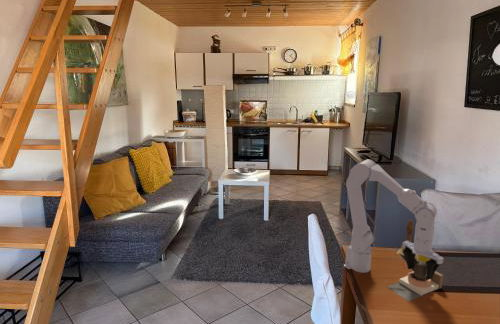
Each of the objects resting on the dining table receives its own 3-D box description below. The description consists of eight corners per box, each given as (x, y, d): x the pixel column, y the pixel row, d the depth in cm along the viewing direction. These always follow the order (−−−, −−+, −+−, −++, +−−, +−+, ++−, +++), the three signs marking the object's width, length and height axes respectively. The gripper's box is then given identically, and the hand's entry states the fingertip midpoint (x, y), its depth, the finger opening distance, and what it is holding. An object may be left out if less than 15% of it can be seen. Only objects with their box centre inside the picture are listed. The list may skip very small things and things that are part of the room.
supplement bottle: (432, 271, 133) (435, 248, 131) (417, 270, 134) (420, 247, 132) (428, 264, 138) (431, 242, 136) (414, 263, 139) (416, 241, 137)
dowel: (410, 278, 123) (412, 261, 122) (421, 278, 123) (423, 260, 122) (416, 284, 119) (418, 266, 118) (427, 284, 120) (429, 266, 118)
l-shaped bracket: (385, 289, 121) (387, 274, 120) (417, 277, 129) (419, 263, 127) (408, 303, 113) (410, 287, 112) (441, 290, 120) (443, 275, 119)
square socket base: (399, 282, 124) (400, 273, 123) (415, 276, 128) (416, 267, 127) (421, 295, 116) (422, 286, 115) (438, 288, 120) (439, 279, 119)
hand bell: (396, 249, 151) (399, 215, 148) (416, 252, 148) (420, 218, 145) (397, 258, 144) (400, 222, 140) (419, 261, 141) (422, 225, 137)
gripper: (398, 232, 122) (395, 266, 125) (435, 249, 110) (430, 286, 113) (411, 228, 125) (408, 262, 128) (449, 244, 113) (444, 281, 116)
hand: (419, 273), depth 121 cm, fingers open, 7 cm apart
